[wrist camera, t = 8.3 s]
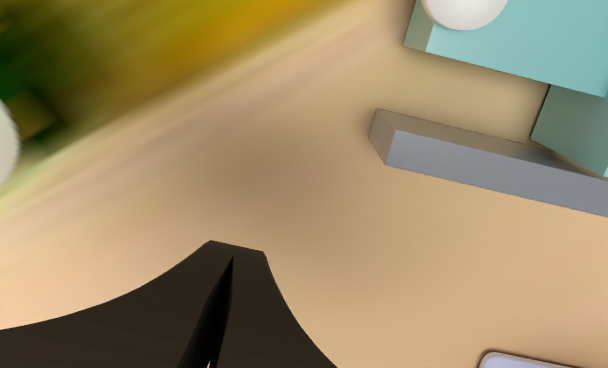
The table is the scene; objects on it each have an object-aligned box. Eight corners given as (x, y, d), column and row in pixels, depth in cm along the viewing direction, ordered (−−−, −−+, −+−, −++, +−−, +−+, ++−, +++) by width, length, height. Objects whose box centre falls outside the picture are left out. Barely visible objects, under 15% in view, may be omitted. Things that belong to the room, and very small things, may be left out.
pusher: (565, 147, 20) (648, 187, 15) (367, 98, 19) (389, 124, 14) (660, -81, 17) (796, -119, 13) (436, -146, 17) (490, -212, 12)
